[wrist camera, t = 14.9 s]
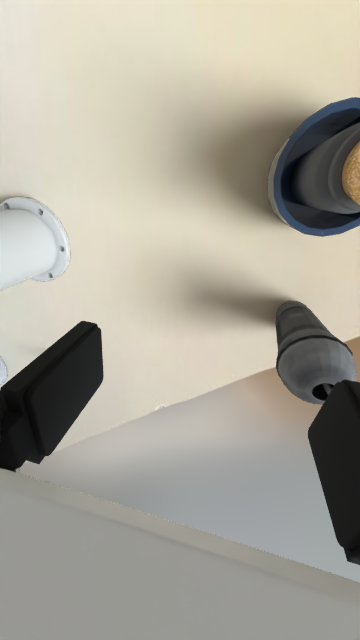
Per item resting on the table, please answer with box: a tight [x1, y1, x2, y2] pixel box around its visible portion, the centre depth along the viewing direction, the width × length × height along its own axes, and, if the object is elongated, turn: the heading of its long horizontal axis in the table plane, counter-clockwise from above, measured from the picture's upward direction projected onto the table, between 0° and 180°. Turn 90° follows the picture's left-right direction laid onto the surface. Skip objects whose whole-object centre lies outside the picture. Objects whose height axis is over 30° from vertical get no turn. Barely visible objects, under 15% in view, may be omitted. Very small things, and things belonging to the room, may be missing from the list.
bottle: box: [290, 123, 360, 214], centre depth 20 cm, size 6×6×15 cm
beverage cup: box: [276, 302, 356, 404], centre depth 26 cm, size 7×7×20 cm
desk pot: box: [267, 97, 360, 236], centre depth 24 cm, size 11×11×6 cm
